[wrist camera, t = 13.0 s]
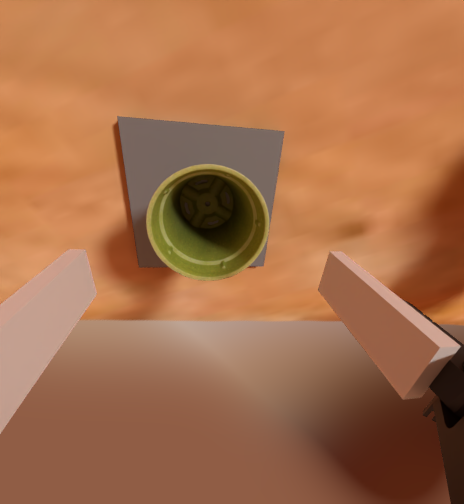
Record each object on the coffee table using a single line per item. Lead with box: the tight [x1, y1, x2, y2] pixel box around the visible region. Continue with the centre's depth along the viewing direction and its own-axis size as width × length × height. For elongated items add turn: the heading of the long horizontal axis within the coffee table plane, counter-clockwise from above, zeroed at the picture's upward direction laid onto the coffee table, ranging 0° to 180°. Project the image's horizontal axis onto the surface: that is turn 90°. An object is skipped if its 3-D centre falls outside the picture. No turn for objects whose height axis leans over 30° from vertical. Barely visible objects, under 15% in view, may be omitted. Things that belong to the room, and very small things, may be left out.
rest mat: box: [117, 116, 284, 267], centre depth 25 cm, size 16×16×1 cm
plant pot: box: [146, 164, 269, 281], centre depth 20 cm, size 9×9×9 cm
